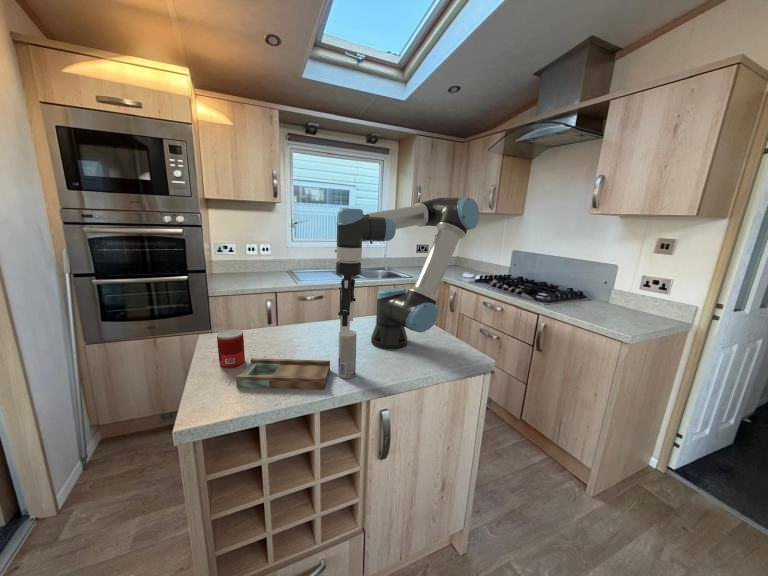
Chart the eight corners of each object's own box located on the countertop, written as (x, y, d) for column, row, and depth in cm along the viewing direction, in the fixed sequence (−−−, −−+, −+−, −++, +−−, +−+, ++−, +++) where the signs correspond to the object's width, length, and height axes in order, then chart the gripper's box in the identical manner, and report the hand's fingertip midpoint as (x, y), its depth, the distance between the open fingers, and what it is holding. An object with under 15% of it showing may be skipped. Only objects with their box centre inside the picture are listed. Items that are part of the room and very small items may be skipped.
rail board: (330, 370, 104) (330, 360, 104) (324, 389, 93) (324, 379, 92) (252, 367, 104) (251, 358, 103) (236, 387, 92) (235, 376, 91)
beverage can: (358, 375, 102) (360, 332, 98) (346, 381, 98) (346, 337, 94) (347, 369, 105) (348, 328, 102) (334, 375, 101) (335, 332, 98)
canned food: (249, 361, 108) (247, 332, 105) (228, 370, 101) (226, 339, 98) (236, 355, 111) (234, 327, 109) (214, 364, 105) (211, 334, 102)
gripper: (341, 255, 105) (339, 314, 110) (330, 266, 81) (329, 342, 85) (363, 256, 105) (360, 315, 110) (358, 268, 81) (356, 343, 86)
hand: (346, 327), depth 98 cm, fingers open, 13 cm apart
